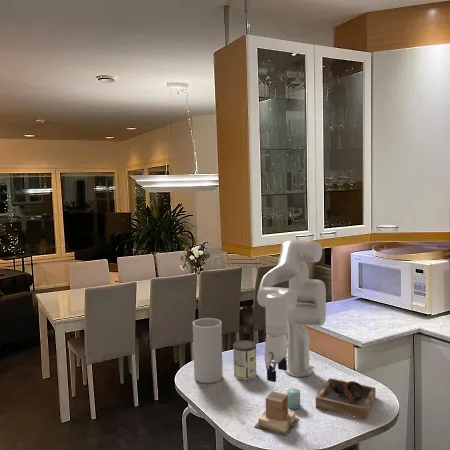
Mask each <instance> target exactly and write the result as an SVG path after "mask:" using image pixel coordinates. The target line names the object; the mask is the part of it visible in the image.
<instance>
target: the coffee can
mask: <svg viewBox="0 0 450 450" xmlns="http://www.w3.org/2000/svg"><path fill="white" fill-rule="evenodd" d="M232 348H233V350H232V351H233V352H232V353H233V376H234V377H235V378H236V379H238V380H243V381H244V380H247V381H248V380H252V379H254V378H256V376H257V343H256V342H255V341H253V340H243V339H242V340H237V341H234V342H233V344H232Z"/></svg>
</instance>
